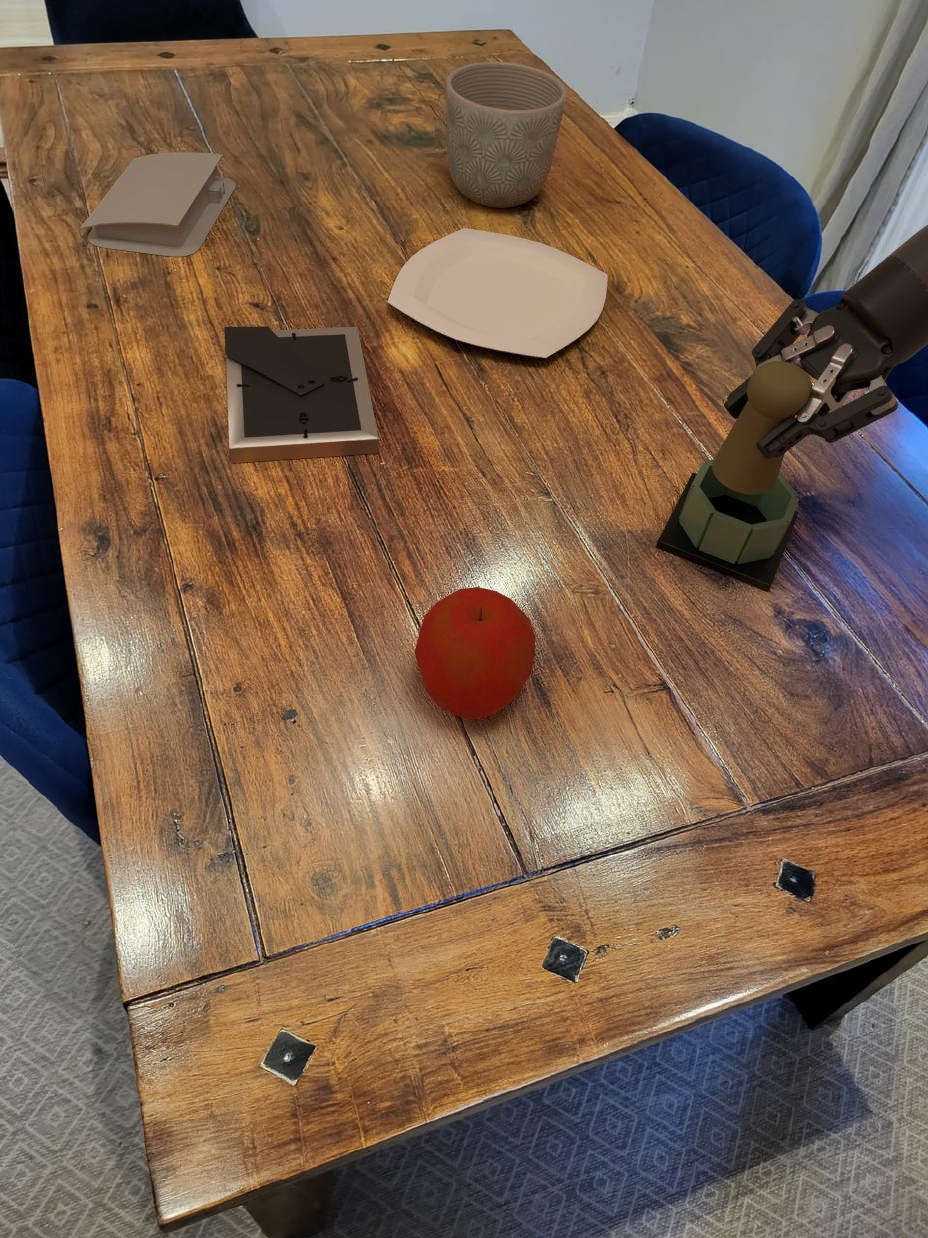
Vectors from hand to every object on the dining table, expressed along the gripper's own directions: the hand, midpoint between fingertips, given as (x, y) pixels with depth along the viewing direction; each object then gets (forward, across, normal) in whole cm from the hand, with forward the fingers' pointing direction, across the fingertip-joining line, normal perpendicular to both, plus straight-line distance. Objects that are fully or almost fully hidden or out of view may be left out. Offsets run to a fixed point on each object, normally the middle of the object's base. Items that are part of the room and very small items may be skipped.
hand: (745, 431), depth 76 cm
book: (+41, -81, -18) cm, 92 cm away
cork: (+2, 0, +5) cm, 6 cm away
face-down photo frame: (+35, -35, -11) cm, 51 cm away
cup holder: (+8, -3, +16) cm, 18 cm away
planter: (+7, -76, +17) cm, 78 cm away
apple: (+31, +8, -7) cm, 33 cm away
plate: (+14, -49, +10) cm, 52 cm away
